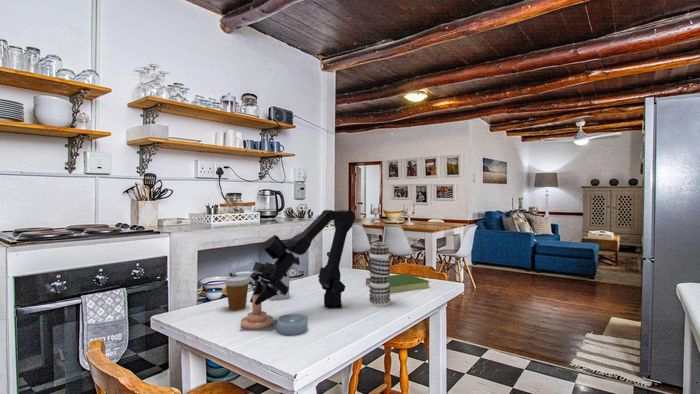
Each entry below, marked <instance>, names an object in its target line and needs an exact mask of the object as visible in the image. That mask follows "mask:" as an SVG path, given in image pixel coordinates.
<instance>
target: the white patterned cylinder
mask: <svg viewBox="0 0 700 394" xmlns="http://www.w3.org/2000/svg"><path fill="white" fill-rule="evenodd" d="M369 247H370V250H369V252H370V253H369V255H368V257H367V259H368V263H369V264H368V271H369V276H370V278H371V281H370V286H368V288H369V296H368V297H369V304H370V305H371V306H376V307H385V306H388V305H390V304H391V302H390V301H391V293H389V292H390V290H389V289H390V286H389V276H391V273H390V272H391V269H390V267H391V264H390V263H391V262H392V261H390V260H389V259H390V258H391V255H390V253H389V248H390V245H388V243H387V242H385V241H374V242H372V243H371V245H370V246H369Z"/></svg>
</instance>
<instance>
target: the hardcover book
mask: <svg viewBox="0 0 700 394" xmlns="http://www.w3.org/2000/svg"><path fill="white" fill-rule="evenodd" d="M370 281H371V277H369V278H368V277H367V278H366V279H365V286H368V287H369V286H370ZM429 283H430V280H427V279H424V278H422V277H421V278H420V277H419V276H415V275H412V274H410V273H402V274H392V275H389V286H390V289H389V290H390V292H389V294H396V293H403V292H408V291H409V292H410V291H415V290H423V289H429V286H430V284H429Z"/></svg>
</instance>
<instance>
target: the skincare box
mask: <svg viewBox="0 0 700 394" xmlns="http://www.w3.org/2000/svg"><path fill="white" fill-rule="evenodd" d="M274 263H275V262H272V264H274ZM290 269H291V268H290ZM290 269H289V270H288V272H287V273H286V274H287V277H283V278H282V280H281V281H282V282H283V283H284V284H285V285H286V286H287V287H288V292H287V294H286V295H285V296H284V295H282V294H280V291H279V290H278V292H277V293H278V295H275V296H273V297H271V298H269V299H270V301H275V300H283V299H289V298H290V273H291V272H290Z"/></svg>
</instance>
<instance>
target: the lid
mask: <svg viewBox="0 0 700 394" xmlns="http://www.w3.org/2000/svg"><path fill="white" fill-rule="evenodd" d="M259 295H260V294H255V295H253V294H252V295H251V297H252V303H251V304H252V305H251V306H252V311H251V312H248V313H247V316H244V317H243V318H242V319H240V327H241V328H244V329H248V330H258V329H264V328H267V327H270V326H271V325H273V319H274V317H273V316H272V315H268V314H267V312H266V311H264V310H262V303H260V304H258V305H255V304H254V303H255V301H256V299H257V298H258V296H259Z"/></svg>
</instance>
